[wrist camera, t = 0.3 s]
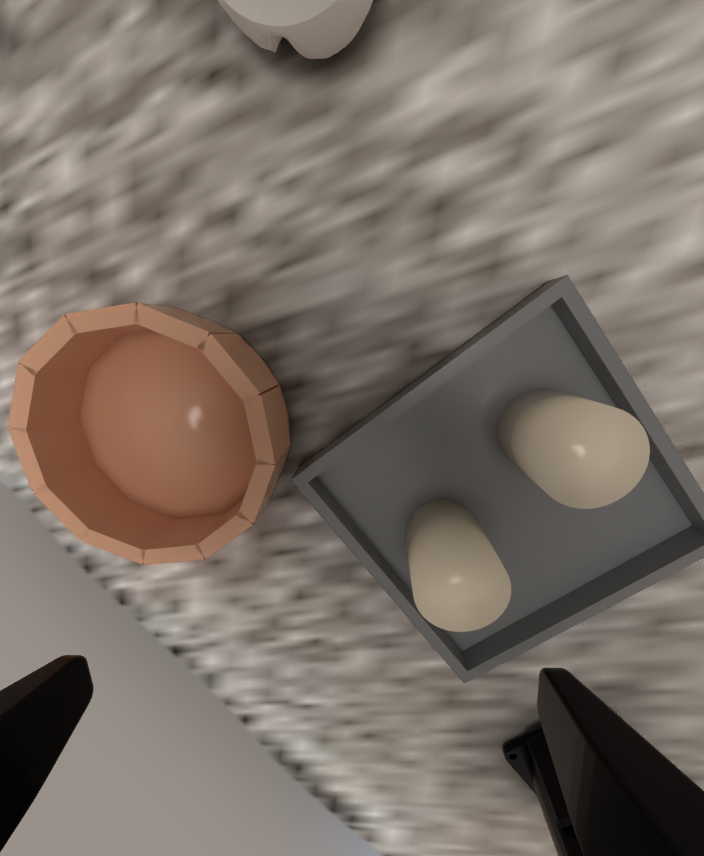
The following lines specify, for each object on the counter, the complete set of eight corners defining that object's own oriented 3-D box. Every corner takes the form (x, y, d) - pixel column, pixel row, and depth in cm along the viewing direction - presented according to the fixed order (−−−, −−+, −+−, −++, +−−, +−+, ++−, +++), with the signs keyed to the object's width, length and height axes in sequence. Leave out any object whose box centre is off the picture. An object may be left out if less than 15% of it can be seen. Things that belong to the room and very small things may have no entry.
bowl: (334, 447, 19) (325, 471, 16) (181, 560, 21) (144, 603, 18) (182, 260, 17) (134, 241, 14) (33, 406, 20) (-40, 421, 16)
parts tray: (700, 522, 19) (734, 541, 17) (457, 655, 22) (464, 683, 20) (547, 281, 17) (567, 275, 15) (297, 467, 20) (290, 480, 18)
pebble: (597, 436, 18) (670, 469, 13) (524, 482, 18) (571, 527, 14) (553, 370, 17) (615, 382, 13) (480, 421, 18) (514, 448, 13)
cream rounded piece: (495, 541, 19) (530, 601, 15) (433, 579, 20) (448, 647, 16) (452, 485, 19) (475, 531, 14) (389, 526, 20) (393, 582, 15)
